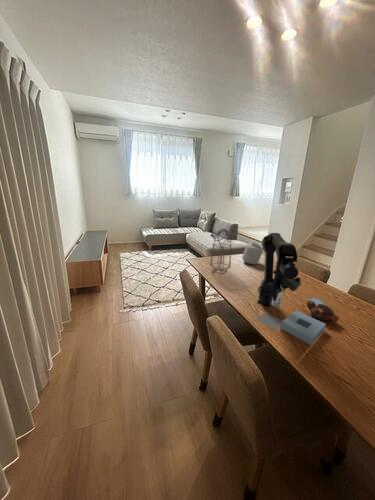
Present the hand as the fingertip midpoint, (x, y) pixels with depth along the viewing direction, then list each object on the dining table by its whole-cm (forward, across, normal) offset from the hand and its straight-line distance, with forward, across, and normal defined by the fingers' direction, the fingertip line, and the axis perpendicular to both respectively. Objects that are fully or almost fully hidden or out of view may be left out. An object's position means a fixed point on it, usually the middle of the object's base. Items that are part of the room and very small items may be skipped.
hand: (276, 299), depth 100 cm
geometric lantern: (+13, +28, +61) cm, 69 cm away
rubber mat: (+13, 0, +1) cm, 13 cm away
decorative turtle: (+13, +24, -14) cm, 30 cm away
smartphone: (+14, +38, -8) cm, 41 cm away
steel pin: (+3, 0, 0) cm, 3 cm away
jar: (+13, +66, +57) cm, 88 cm away
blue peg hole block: (+13, +6, -12) cm, 19 cm away
